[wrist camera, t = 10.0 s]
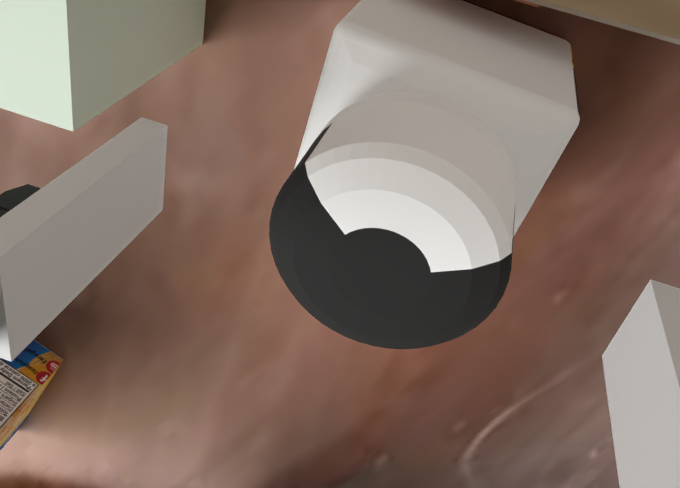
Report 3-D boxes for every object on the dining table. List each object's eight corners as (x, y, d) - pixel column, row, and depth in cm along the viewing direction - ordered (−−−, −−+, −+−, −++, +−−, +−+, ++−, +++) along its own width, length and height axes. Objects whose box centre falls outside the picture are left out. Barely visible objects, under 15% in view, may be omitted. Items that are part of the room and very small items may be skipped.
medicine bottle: (490, 201, 27) (460, 419, 17) (332, 138, 27) (215, 318, 17) (575, 40, 22) (599, 210, 13) (386, -32, 23) (271, 81, 13)
